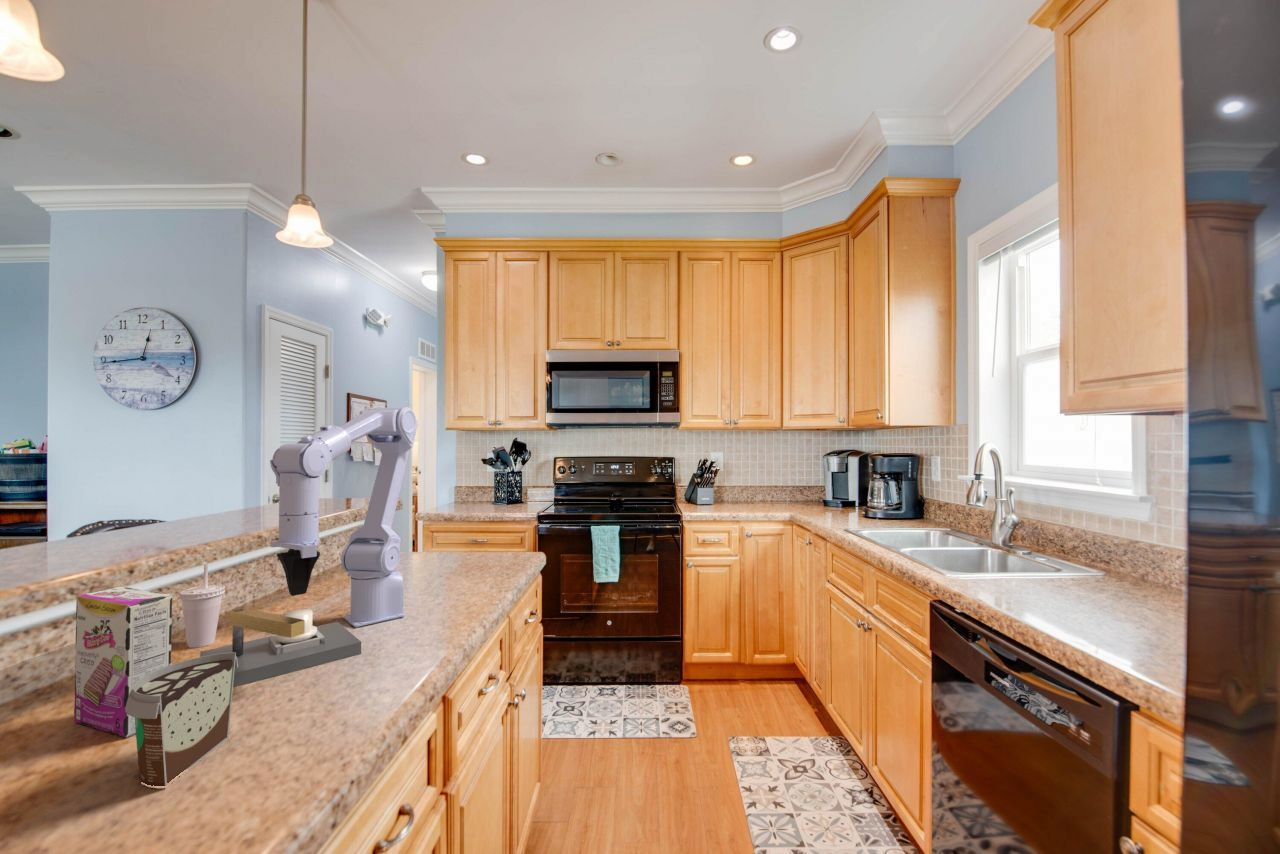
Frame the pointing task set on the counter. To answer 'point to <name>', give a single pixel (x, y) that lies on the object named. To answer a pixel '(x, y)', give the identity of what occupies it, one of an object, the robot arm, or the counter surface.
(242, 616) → the tan l-shaped bar
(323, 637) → the socket block
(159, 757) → the food container
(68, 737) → the counter surface
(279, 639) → the plug
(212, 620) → the smoothie
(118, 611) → the candy bar box
